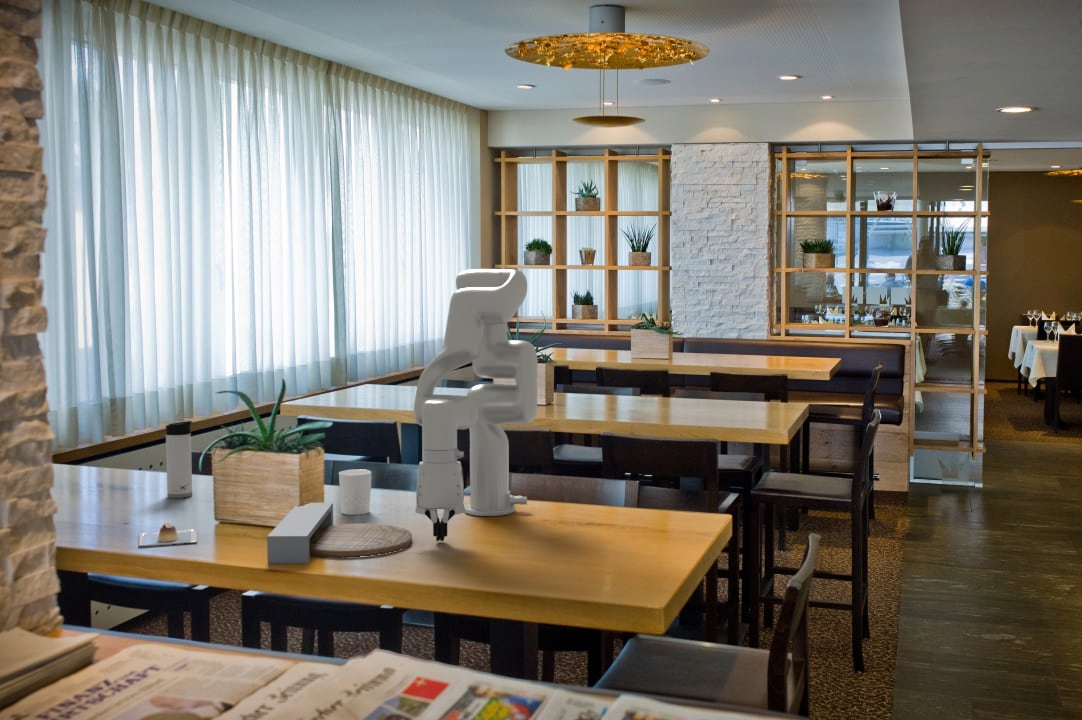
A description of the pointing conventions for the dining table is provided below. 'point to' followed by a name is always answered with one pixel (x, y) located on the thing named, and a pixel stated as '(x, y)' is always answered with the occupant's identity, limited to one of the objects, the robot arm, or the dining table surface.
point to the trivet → (358, 540)
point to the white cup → (355, 491)
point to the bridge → (297, 533)
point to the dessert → (168, 535)
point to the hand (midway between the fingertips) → (440, 539)
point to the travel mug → (179, 460)
